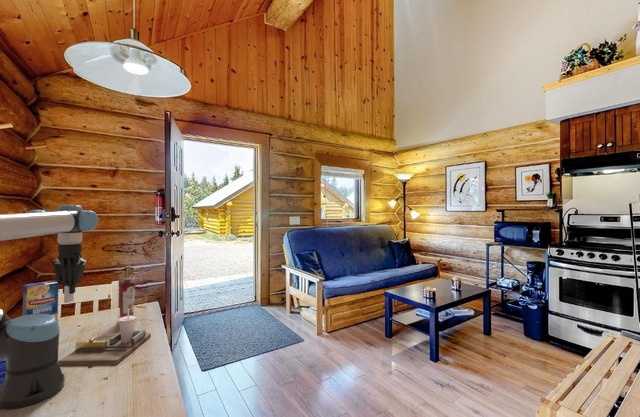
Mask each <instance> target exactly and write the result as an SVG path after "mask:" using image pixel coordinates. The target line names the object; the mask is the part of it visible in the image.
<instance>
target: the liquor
mask: <svg viewBox="0 0 640 417" xmlns="http://www.w3.org/2000/svg"><path fill="white" fill-rule="evenodd" d="M131 270H132V268H131V265H125V266H124V280H123V281H122V282H120V283H119V284H118V291H119V292H118V295H119V296H118V297H119V317H118V320H119V319H120V318H122V317H125V316H128V308H129V316H135V315H134V313H135V312H134V311H135V308H134V307H135V296H136V284H137V283H136V281H134V280H131V279H132V278H131V277H132V276H131Z"/></svg>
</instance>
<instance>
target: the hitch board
mask: <svg viewBox="0 0 640 417" xmlns="http://www.w3.org/2000/svg"><path fill="white" fill-rule="evenodd" d="M116 334H117V333H102V334H100V335H99V336H97V337H94V338H95V340H94V341H107V348H106V349H76V348H75V349H74V351H72V352H71V353H69V354H67V355H66V356H64V357H62V358H60V359H58V363H59V366H71V365H72V366H74V365H75V366H76V365H77V366H79V365H80V366H85V365H86V366H87V365H88V366H89V365H91V366H92V365H95V366H96V365H118V364H119V363H120V362H122V361H123V360H125V358H127V357H128V356H129V355H130V354H131V353H133V352H134V351H135V350H137V348H139V347H141V345H142V344H144V343H145V342H146V341H148V339H150V338H151V337H152V336H151V335H152V333H151V332H148V333H146V332H145V336H144V337H143V338H142V339H141V340H139V341H138V342H137V343H136V344H134V345H131V341H130V342H127V343H122V341H121V339H120V340H119V341H117V342H116V343H114V344H113V345H109V342H110V338H112V337H113V336H115V335H116ZM132 338H133V337H132Z"/></svg>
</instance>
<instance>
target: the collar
mask: <svg viewBox="0 0 640 417" xmlns="http://www.w3.org/2000/svg"><path fill="white" fill-rule="evenodd" d="M145 333H146V329H134V330H133V336H132V337H133V338H131V345H134V344H136V343H137V342H138V341H139V340H141V339H142V338H143V337H144V336H145ZM115 334H116V335H115V336H113V337H112V338H110V342H109V345H113V344H114V343H116V342H117V341H119V340H120V339H121V333H120V331H119V332H118V333H115Z"/></svg>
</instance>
